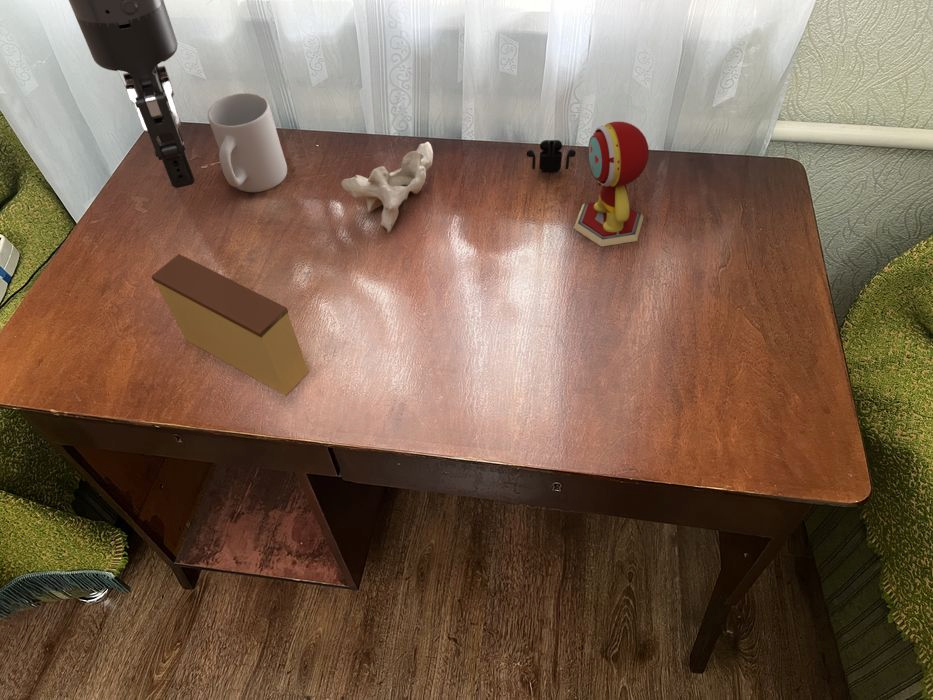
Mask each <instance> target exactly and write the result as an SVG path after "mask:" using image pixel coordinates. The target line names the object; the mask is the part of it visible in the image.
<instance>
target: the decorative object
mask: <svg viewBox="0 0 933 700" xmlns="http://www.w3.org/2000/svg"><path fill="white" fill-rule="evenodd" d="M433 157H434V152H433V147H432V145H431V143H430V142H429V141H425V142H424V143H419V145H418V147H417V148H416V150H411V151H409V152H407V153H406V154H405V155H404V156H403V157H402V162H401V165H400V167H401V168H399V169H398V168H397V169H396V170H394V171H392V172H391V171H390V172H389V171H388V170H387V169H386V167H385V166H383V165H382V166H378V167H376V168H373V169H372V170H371V172H370V174H369V177H368V178H367V177H364V176H362V175H360V174H355V175H354V176H353V177H350V178H344V179H343V180H341V182H340V183H341V187H342V188H343V190H345V191H346V192H347V193H348V194H349V195H350V196H351V197H353V198H354V199H357V198H358V199H362V198H364V199H365V202H366V209H367V211H368V213H369V214H371V213H372V212H373V211H374V210H375V209H377V208H379V207H381V206H383V208H382V211H381V222H380V226H381V227H383V228H385V229H386V232H387V233H388V234H390V233H391V231H392V229H393V227H394V225H395V223H396V221H397V219H398V216H399V211H402V210H403V209H404V207H405V205H406V202H407V199H408V196H409V194H410V192H411V193H413V194H418V193H420V191H421V190H422V188H423V186H424V185H425V183H426V179H427V172H426V171H428V170H429V169H430V168H431V167H432V165H433V160H434V159H433Z"/></svg>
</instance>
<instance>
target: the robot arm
mask: <svg viewBox="0 0 933 700" xmlns="http://www.w3.org/2000/svg"><path fill="white" fill-rule="evenodd" d="M68 2H69V4H70V7H71V10H72V11H73V15H74V17H75V19H76V22H77V24H78V27H79V29H80V31H81V33H82V35H83V38H84V40H85V43H86V45H87V47H88V50H89V52H90V55H91V57H92V59H93V61H94V62H95V63H96V64H97V65H98V66H99V67H101V68H103V69H105V70H108V71H113V72H118V71H120V72H125V73H122V77H123V79H124V81H125V85H124V86H125V89H126V92H127V95H128V98H129V100H130V101H131V103H132V105H134V107H135V109H136V112H137V115H138V118H139V121H140V123H141V126H142V128H143V130H144V131H145V132H146V133H147V134H148V135H149V139H150V141H151V143H152V146H153V148H154V155H155V157H156V158H158V161H162V163H163V166H164V168H165V172H166V174H167V176H168V178H169V181H170V184H171V186H172V187H173V188H175V189H180V188H185V187H188V186H193V184H195V177H194V175H193V171H192V168H191V166H190V163H189V161H188V158H187V155H186V145H185V142H184V140H183V137H182V134H181V131H180V127H181V126H182V121H181V118H180V115H179V112H178V109H177V106H176V103H175V100H174V95H175V93H174V89H173V86H172V84H171V83H172V82H171V79H170V77H169V73H168V70H167V68H166V65H160V66H159V64H161V63H162V62H163V63H164V62H166V61H168V60H169V59H170V58H172V57H173V56H174V55H175V53H176V52H177V50H178V40H177V37H176V34H175V31H174V27H173V26H172V22H171V18H170V16H169V12H168V9H167V6H166V4H165V3H166V2H165V0H68Z"/></svg>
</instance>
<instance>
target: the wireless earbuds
mask: <svg viewBox="0 0 933 700" xmlns="http://www.w3.org/2000/svg"><path fill="white" fill-rule="evenodd" d="M539 148H540V150H541V151H540V152H539V164H538V167H539V170H540V171H541V172H558V171H560V170H561V168H562V160H563V159H562V158H563V153H562V151H561V149H562V148H563V143H562V141H561V140H560V139H545V140H542V141H541V142H540V144H539ZM576 153H577V151H575V150H574V149H572V148H571V149H569V150H567V153H566V159H565V167H564V168H565V170H569V167H570V158H574V157H575V156H576V155H577V154H576ZM526 156H527V157H528V158H532V162H531V164H532V165H531V169H532V170H535V169H536V159H537V158H536V153H535V150H534V149H528V150H527V151H526Z"/></svg>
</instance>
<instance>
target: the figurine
mask: <svg viewBox="0 0 933 700" xmlns="http://www.w3.org/2000/svg"><path fill="white" fill-rule="evenodd" d="M587 147H588V149H587V155H588V165H589V169H590V172H591V174H592V176H593V178H594V179H595V180H596V181H597V185H598V186H601V187H600V190H599V196H598V199H597V200H593V201H587V202H584V203H583V204H582V205H581V208H580V210H579V213H578V215H577V218H576V221H575V224H574V226H573V230H575V231H577V232H578V233H580V234H581V235H583V236H584V237H586V238H587V239H589V240H590V241H592V242H593V243H595V244H596V245H598V246H600V247H608V246H615V245H621V244H627V243H633V242H638V239H639V235H640V232H641V229H642V224H643V221H644V215H643V214H642V212H640V211H638V210H637V209H635V208H633V207H632V206H630V202H629V196H628V189H627V185H629V184H631V183H633V182H634V181H636V180H637V179H638V178H639V177H641V175H642V173H643V172H644V171H645V169H646V167H647V164H648V162H649V161H648V160H649V155H650V150H649V144H648V141H647V138H646V136H645V135H644V133H643V132H642V131H641V130H640V128H638V127H636V125H634V124H632V123H629V122H626V121H619V120H618V121H611V122H608V123H605V124H604V125H600V126H598V127H597V128H596V129H595V130H594V132H593V135H591V137H590V138H589V141H588V145H587Z"/></svg>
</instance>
